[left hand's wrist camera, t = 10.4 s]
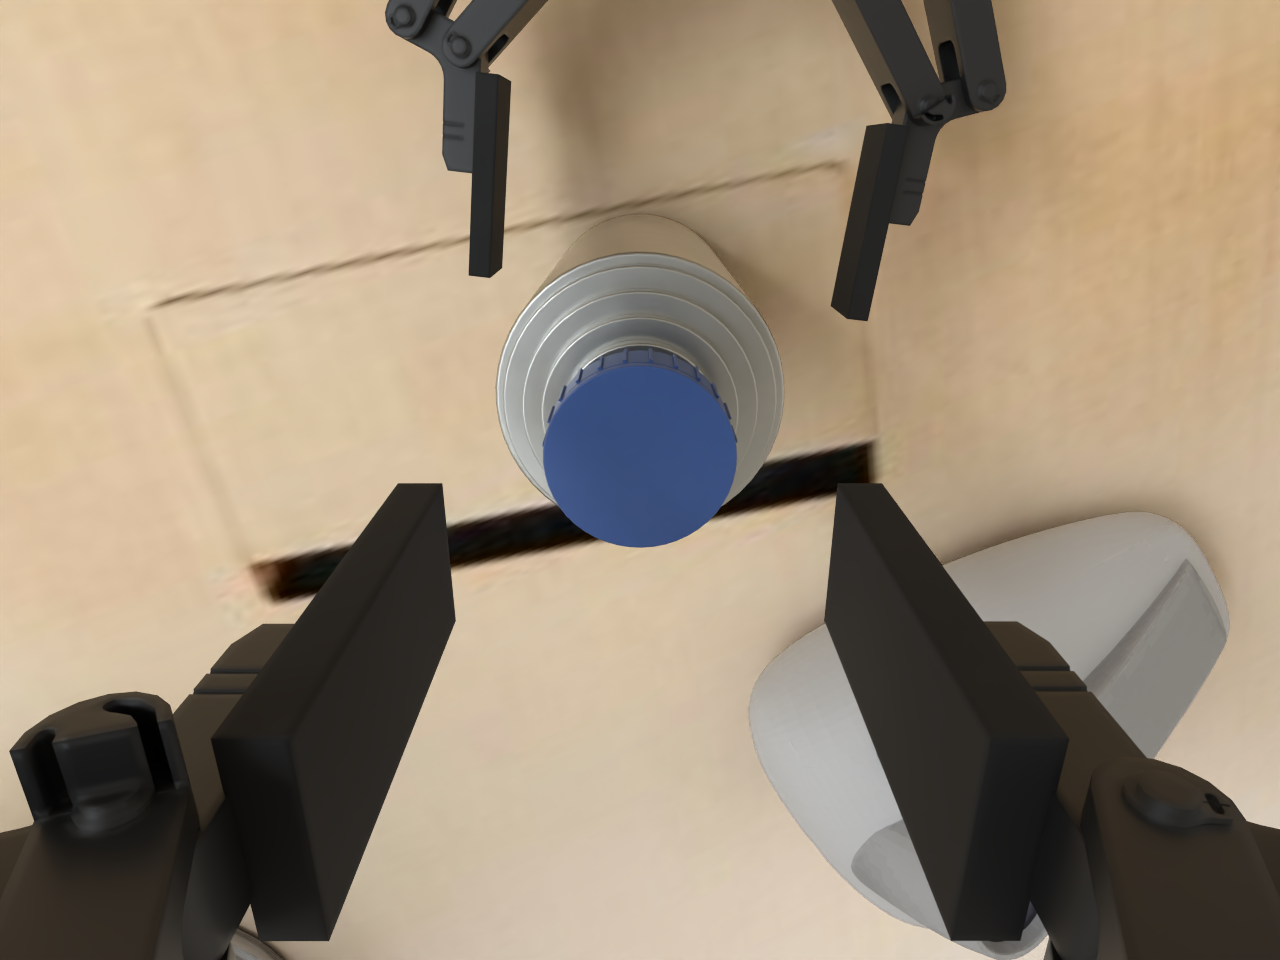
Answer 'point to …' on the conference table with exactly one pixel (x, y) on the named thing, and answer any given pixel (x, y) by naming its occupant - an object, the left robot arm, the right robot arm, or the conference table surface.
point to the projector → (1049, 606)
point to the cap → (640, 449)
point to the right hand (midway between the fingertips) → (668, 294)
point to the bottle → (640, 334)
